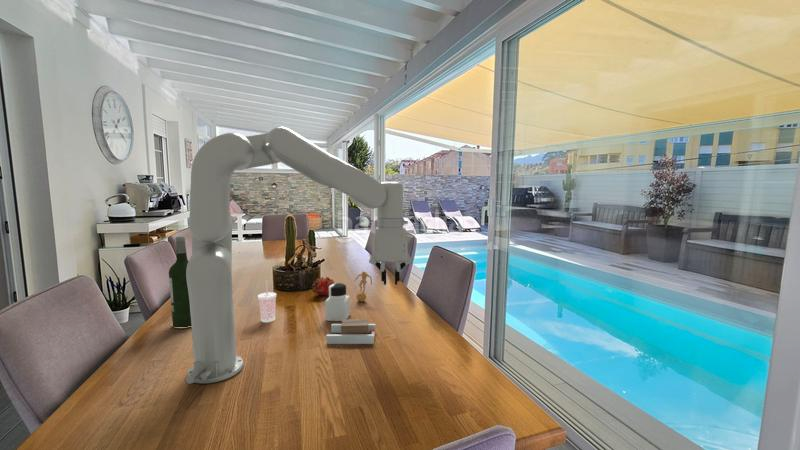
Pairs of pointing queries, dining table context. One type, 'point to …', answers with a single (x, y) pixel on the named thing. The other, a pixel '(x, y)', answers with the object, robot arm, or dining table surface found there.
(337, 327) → the channel
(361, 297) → the figurine
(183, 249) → the wine bottle
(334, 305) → the medicine bottle
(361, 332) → the block
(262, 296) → the beverage cup
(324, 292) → the dragon fruit
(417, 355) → the dining table surface
